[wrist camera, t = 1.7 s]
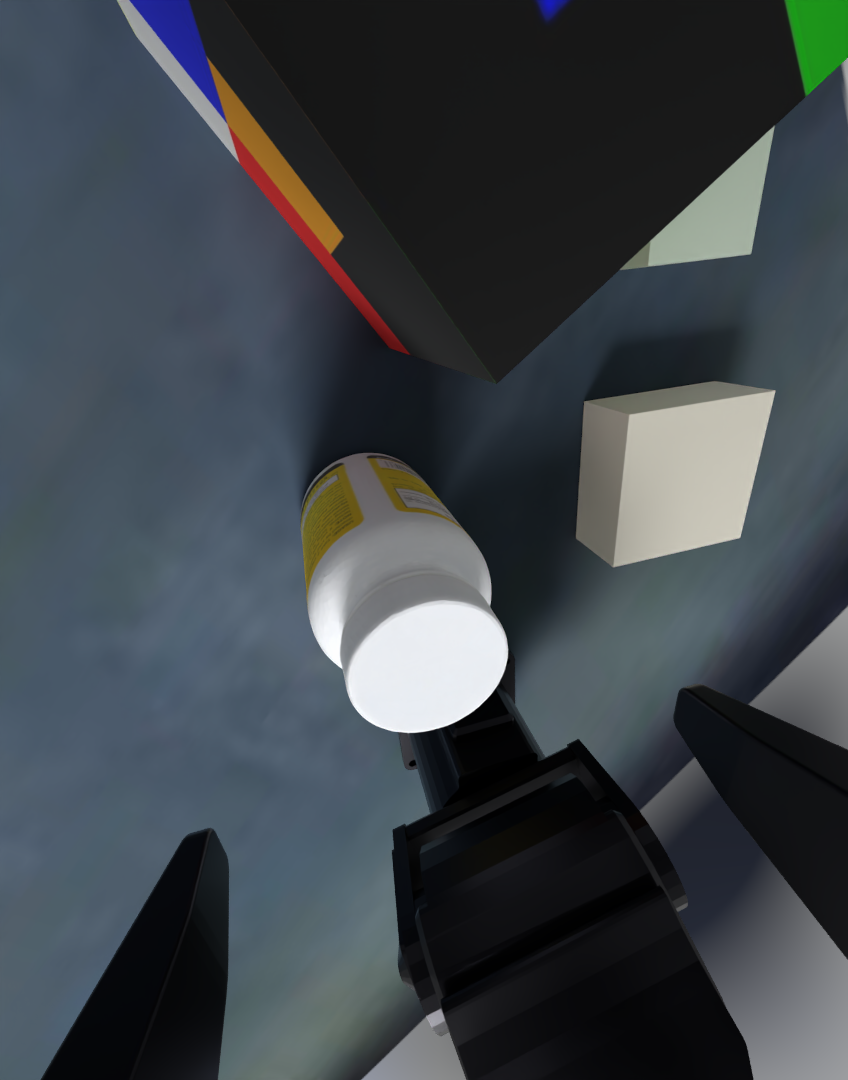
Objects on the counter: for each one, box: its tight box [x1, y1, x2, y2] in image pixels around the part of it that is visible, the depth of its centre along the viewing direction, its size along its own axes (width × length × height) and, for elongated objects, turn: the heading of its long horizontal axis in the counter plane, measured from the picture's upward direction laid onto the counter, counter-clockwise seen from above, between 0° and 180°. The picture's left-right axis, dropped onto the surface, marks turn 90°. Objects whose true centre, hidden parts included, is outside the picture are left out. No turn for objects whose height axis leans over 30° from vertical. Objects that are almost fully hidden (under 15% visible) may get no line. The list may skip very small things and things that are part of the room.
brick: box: [620, 126, 775, 270], centre depth 16 cm, size 4×4×3 cm
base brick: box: [576, 381, 775, 567], centre depth 21 cm, size 6×6×3 cm
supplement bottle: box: [301, 453, 508, 733], centre depth 15 cm, size 5×5×10 cm
